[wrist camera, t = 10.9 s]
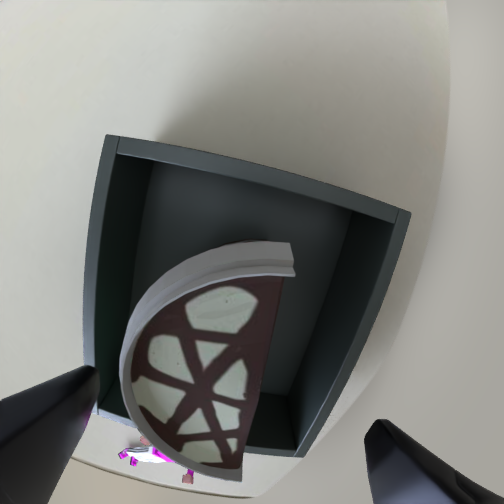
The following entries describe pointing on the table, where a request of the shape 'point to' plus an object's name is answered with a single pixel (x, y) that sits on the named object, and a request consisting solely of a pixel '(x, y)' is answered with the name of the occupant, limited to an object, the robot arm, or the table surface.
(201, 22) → the table surface
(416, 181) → the table surface
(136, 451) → the character figurine
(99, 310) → the storage box
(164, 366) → the cake slice
